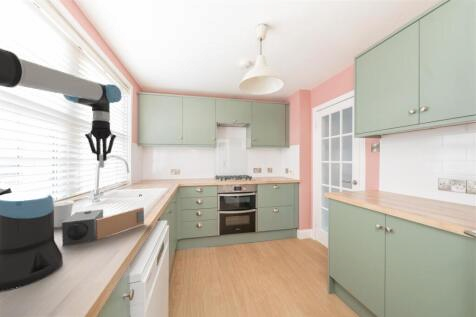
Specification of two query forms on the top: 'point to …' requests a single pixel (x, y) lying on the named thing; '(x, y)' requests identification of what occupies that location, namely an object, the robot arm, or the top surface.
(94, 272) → the top surface
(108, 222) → the door
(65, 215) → the cup
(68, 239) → the camera housing
